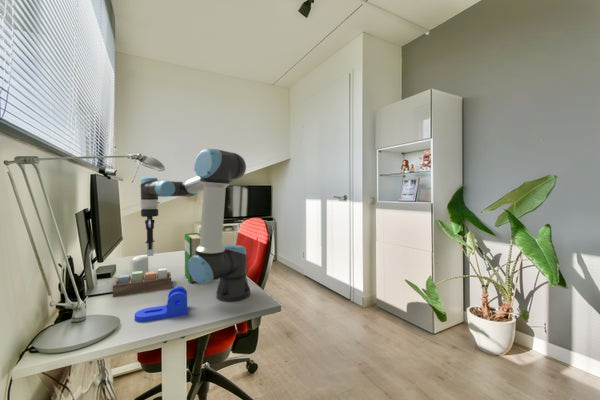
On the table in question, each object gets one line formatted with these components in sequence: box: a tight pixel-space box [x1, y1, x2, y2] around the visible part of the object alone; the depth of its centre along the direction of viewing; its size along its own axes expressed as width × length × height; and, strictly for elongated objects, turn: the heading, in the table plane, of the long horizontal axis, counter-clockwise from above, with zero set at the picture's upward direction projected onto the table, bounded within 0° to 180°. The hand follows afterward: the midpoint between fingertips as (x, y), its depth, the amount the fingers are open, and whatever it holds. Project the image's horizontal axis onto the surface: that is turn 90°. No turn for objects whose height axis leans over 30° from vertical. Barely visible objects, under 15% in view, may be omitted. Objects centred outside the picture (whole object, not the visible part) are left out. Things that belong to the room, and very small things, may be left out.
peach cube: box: [145, 271, 156, 281], centre depth 133 cm, size 4×4×4 cm
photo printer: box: [130, 254, 149, 277], centre depth 149 cm, size 10×4×12 cm, turn 172°
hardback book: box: [184, 232, 201, 285], centre depth 148 cm, size 18×7×24 cm, turn 31°
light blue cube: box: [118, 273, 131, 284], centre depth 128 cm, size 4×4×4 cm
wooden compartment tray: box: [112, 271, 172, 297], centre depth 132 cm, size 12×24×5 cm, turn 118°
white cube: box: [157, 267, 168, 279], centre depth 136 cm, size 4×4×4 cm
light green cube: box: [132, 271, 143, 282], centre depth 131 cm, size 4×4×4 cm
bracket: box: [134, 286, 188, 323], centre depth 103 cm, size 18×8×9 cm, turn 114°
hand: (150, 255), depth 133 cm, fingers closed
